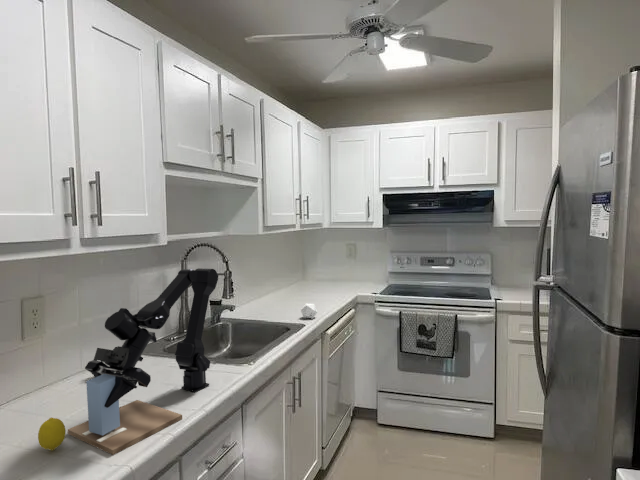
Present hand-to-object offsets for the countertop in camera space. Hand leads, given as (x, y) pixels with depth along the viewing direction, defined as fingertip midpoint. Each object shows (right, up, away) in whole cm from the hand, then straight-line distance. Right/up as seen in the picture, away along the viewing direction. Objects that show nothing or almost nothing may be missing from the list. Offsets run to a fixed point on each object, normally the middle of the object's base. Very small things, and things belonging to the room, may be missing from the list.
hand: (98, 405), depth 104 cm
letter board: (+4, -8, +7) cm, 11 cm away
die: (+50, -2, +124) cm, 134 cm away
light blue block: (+1, -7, +2) cm, 7 cm away
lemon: (-9, -9, -4) cm, 14 cm away
